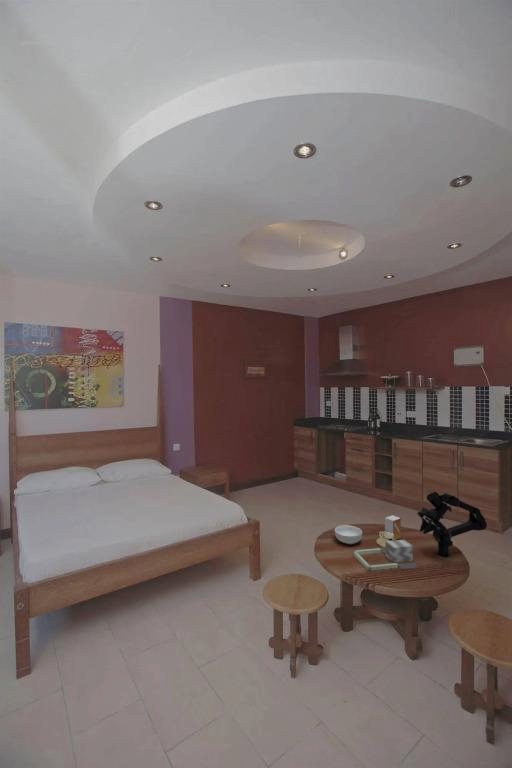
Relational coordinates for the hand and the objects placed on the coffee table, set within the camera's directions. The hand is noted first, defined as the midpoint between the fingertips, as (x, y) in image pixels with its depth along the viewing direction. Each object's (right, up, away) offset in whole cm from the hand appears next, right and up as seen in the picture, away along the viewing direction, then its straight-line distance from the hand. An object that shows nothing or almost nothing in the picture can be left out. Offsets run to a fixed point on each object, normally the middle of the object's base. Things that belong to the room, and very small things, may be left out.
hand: (421, 532), depth 205 cm
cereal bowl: (-37, -14, +19) cm, 44 cm away
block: (-14, -14, -3) cm, 20 cm away
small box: (-8, -14, +24) cm, 28 cm away
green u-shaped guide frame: (-24, -14, -4) cm, 28 cm away
